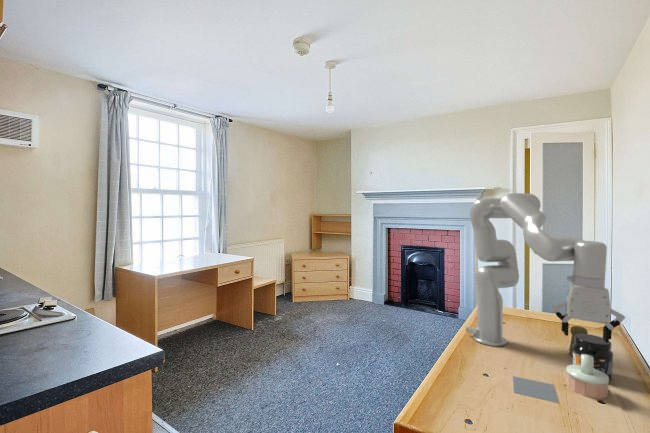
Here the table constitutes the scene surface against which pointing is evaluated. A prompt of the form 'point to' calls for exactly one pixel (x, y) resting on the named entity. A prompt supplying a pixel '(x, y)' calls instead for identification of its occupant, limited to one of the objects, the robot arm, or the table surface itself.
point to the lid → (587, 371)
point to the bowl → (587, 388)
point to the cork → (574, 331)
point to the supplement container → (594, 352)
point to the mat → (535, 389)
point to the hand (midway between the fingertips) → (585, 337)
